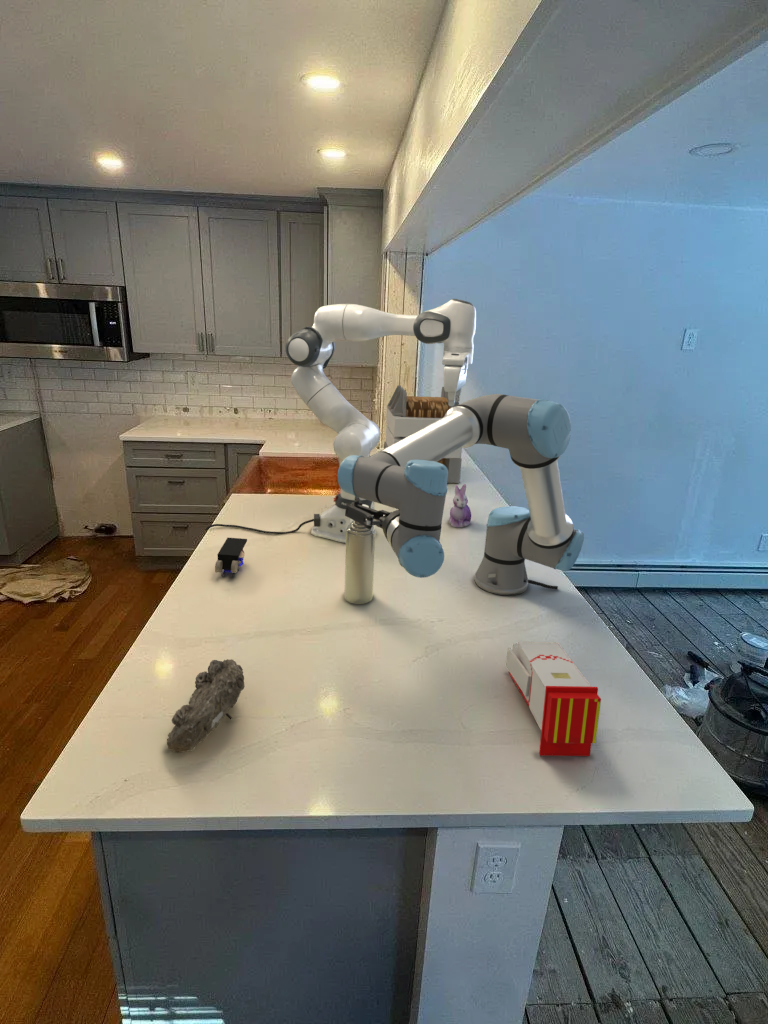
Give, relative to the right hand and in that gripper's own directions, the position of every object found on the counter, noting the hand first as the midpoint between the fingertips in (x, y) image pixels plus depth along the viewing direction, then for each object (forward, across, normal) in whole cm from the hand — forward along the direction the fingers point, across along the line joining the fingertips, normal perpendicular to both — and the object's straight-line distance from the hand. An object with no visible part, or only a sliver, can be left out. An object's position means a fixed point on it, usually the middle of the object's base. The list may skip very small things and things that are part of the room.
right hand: (385, 503), depth 130 cm
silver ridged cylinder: (+18, 0, -31) cm, 36 cm away
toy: (-31, +31, -32) cm, 54 cm away
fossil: (-26, -34, -38) cm, 57 cm away
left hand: (+47, +28, +22) cm, 58 cm away
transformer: (+138, +45, -18) cm, 147 cm away
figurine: (+70, +45, -23) cm, 87 cm away
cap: (+16, -3, -6) cm, 17 cm away
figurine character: (+38, -35, -33) cm, 62 cm away
